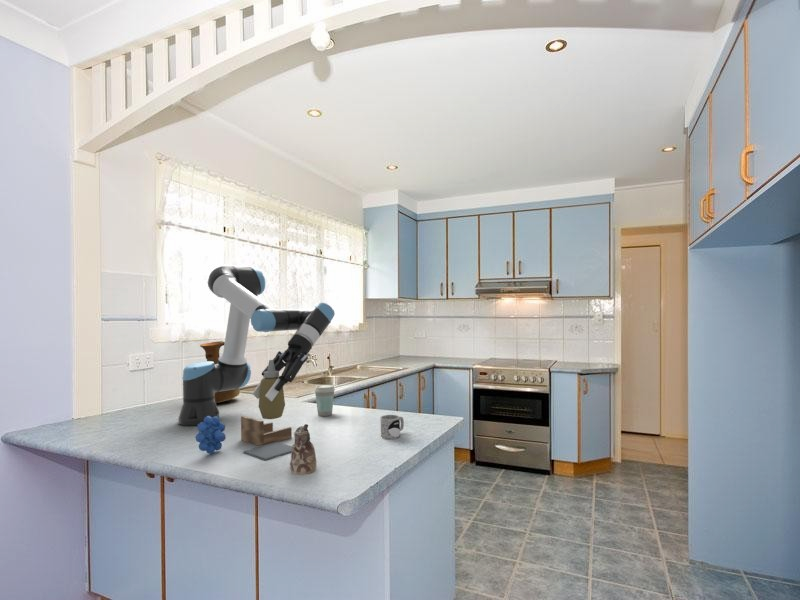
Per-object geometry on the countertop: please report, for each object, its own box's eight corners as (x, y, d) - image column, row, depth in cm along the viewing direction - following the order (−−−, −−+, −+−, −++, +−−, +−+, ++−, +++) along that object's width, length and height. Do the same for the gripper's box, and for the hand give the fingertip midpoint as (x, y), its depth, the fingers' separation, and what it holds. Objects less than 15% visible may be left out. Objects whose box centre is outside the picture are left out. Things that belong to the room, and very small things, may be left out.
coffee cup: (318, 412, 189) (318, 384, 189) (337, 412, 188) (337, 384, 188) (311, 417, 180) (311, 387, 181) (331, 417, 179) (331, 388, 179)
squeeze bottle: (277, 421, 132) (276, 361, 132) (253, 420, 134) (252, 361, 134) (289, 414, 140) (288, 358, 140) (266, 414, 142) (265, 358, 142)
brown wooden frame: (241, 439, 150) (241, 416, 150) (271, 431, 159) (271, 409, 159) (261, 446, 142) (260, 421, 142) (291, 437, 151) (291, 414, 152)
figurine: (284, 472, 118) (284, 428, 119) (299, 464, 125) (299, 421, 125) (307, 475, 116) (306, 430, 116) (321, 466, 123) (320, 423, 123)
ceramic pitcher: (188, 403, 213) (187, 341, 214) (227, 396, 228) (226, 339, 229) (207, 408, 200) (207, 343, 201) (247, 400, 216) (246, 340, 216)
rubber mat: (243, 452, 136) (243, 451, 136) (276, 443, 145) (276, 441, 145) (265, 460, 128) (265, 458, 128) (298, 449, 138) (298, 448, 138)
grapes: (208, 461, 128) (207, 420, 129) (190, 459, 131) (189, 419, 131) (235, 449, 139) (235, 411, 140) (218, 447, 142) (218, 410, 142)
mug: (390, 440, 146) (390, 420, 146) (376, 436, 151) (376, 417, 151) (410, 433, 153) (410, 414, 154) (396, 430, 158) (396, 412, 158)
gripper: (328, 349, 143) (288, 408, 130) (292, 346, 155) (251, 400, 142) (315, 333, 139) (272, 393, 126) (279, 332, 151) (236, 387, 138)
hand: (261, 397), depth 134 cm, fingers closed on squeeze bottle, 6 cm apart
